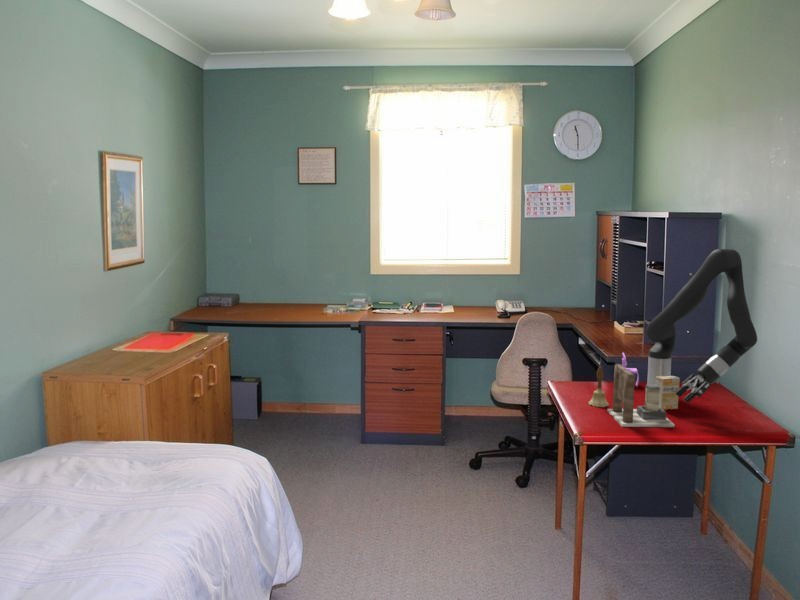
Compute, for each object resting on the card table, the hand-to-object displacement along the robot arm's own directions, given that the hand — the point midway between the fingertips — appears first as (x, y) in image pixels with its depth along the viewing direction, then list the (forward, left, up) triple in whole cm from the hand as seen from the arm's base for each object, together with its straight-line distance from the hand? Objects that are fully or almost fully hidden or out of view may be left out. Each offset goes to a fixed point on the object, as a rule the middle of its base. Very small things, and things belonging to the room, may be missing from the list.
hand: (681, 398), depth 279 cm
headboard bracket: (0, -15, -8) cm, 18 cm away
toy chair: (-53, -4, -9) cm, 54 cm away
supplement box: (-15, 0, -9) cm, 17 cm away
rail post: (0, -11, -7) cm, 13 cm away
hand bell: (-20, -26, -9) cm, 34 cm away
